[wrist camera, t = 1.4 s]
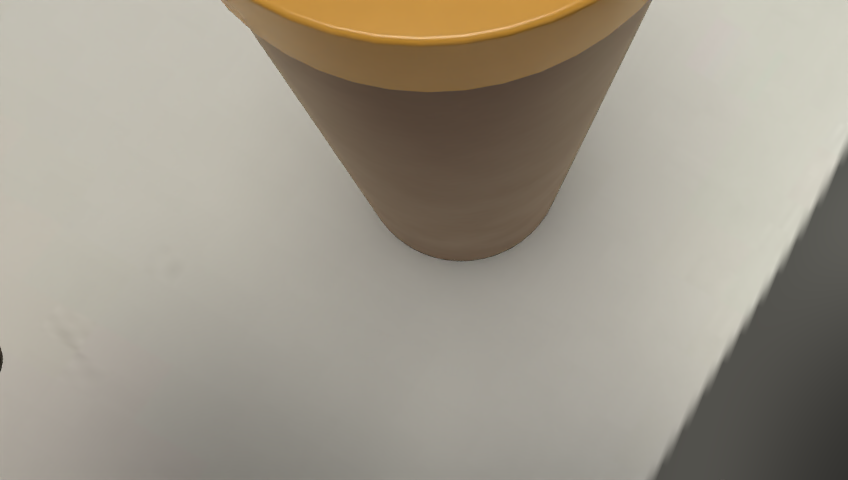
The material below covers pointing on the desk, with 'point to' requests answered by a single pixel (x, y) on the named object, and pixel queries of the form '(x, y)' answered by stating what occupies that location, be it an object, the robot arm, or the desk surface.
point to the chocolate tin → (450, 103)
